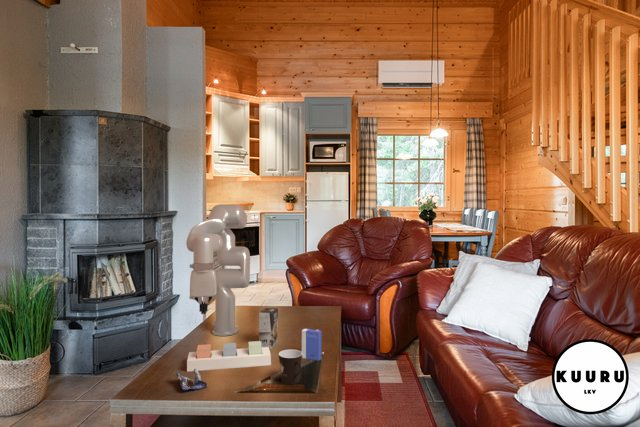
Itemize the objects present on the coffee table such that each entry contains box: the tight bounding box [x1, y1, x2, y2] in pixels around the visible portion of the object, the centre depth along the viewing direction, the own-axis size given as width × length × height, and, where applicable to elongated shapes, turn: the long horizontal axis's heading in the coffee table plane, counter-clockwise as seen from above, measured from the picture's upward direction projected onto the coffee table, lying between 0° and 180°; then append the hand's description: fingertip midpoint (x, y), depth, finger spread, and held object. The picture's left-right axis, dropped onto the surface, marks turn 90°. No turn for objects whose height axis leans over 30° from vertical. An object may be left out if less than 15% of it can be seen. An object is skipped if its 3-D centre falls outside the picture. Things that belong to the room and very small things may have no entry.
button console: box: [186, 347, 272, 372], centre depth 173 cm, size 32×10×4 cm, turn 102°
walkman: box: [301, 328, 322, 361], centre depth 179 cm, size 8×3×12 cm, turn 66°
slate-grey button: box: [222, 342, 237, 357], centre depth 173 cm, size 5×5×5 cm
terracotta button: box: [196, 343, 212, 359], centre depth 171 cm, size 5×5×5 cm
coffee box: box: [258, 307, 279, 350], centre depth 194 cm, size 9×6×16 cm
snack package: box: [175, 369, 208, 392], centre depth 152 cm, size 12×6×12 cm
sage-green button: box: [247, 340, 262, 355], centre depth 175 cm, size 5×5×5 cm
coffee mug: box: [278, 348, 303, 385], centre depth 155 cm, size 12×9×10 cm
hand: (203, 313), depth 170 cm, fingers closed
